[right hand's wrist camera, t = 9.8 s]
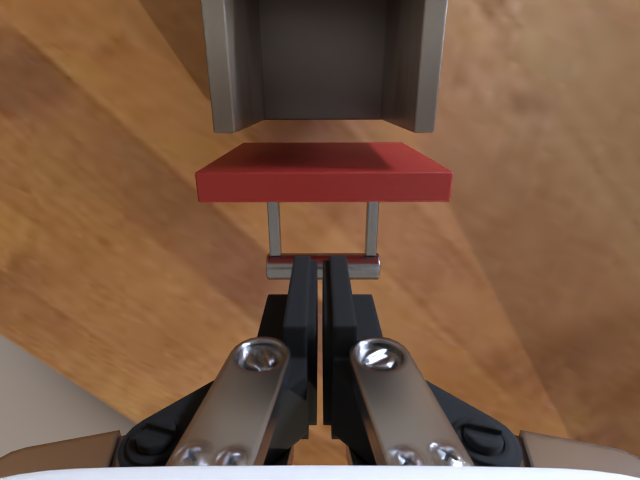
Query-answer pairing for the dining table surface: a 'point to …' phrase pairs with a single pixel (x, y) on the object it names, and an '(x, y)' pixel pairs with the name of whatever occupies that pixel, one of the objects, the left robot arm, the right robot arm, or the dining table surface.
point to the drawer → (324, 107)
